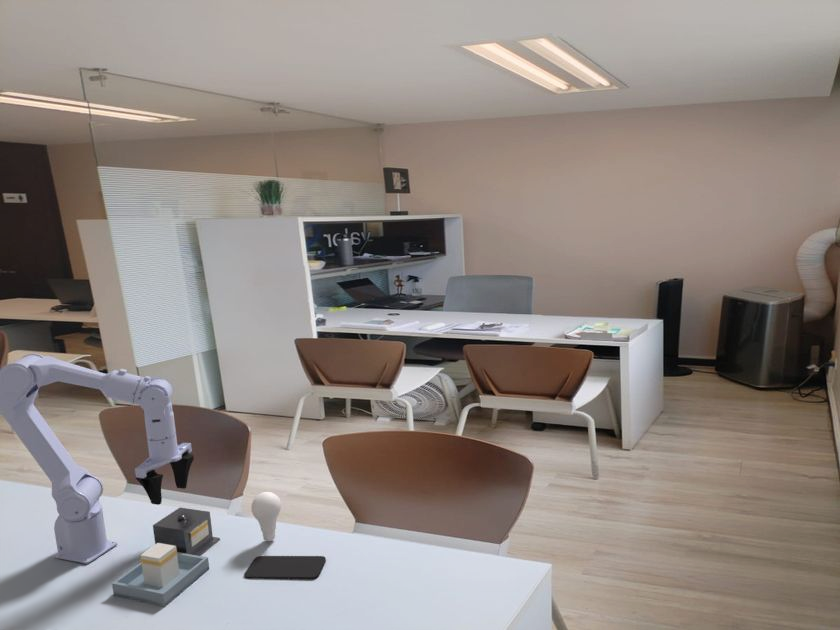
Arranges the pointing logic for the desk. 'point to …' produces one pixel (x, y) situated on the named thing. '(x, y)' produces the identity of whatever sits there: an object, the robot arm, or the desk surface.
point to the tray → (137, 590)
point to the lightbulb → (266, 513)
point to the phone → (285, 567)
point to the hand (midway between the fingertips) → (169, 495)
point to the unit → (186, 531)
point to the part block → (160, 564)
